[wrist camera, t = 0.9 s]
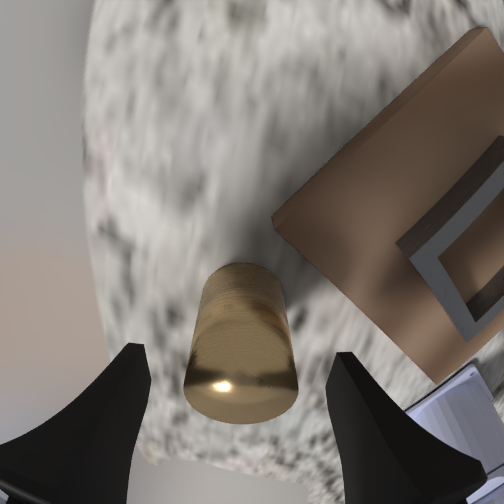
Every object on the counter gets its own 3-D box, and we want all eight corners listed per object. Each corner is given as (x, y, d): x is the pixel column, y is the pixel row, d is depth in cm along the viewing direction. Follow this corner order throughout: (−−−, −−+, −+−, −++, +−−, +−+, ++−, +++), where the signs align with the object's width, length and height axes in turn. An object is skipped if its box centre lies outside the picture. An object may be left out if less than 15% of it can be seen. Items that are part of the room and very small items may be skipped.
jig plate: (557, 240, 14) (570, 249, 13) (428, 370, 19) (436, 384, 17) (469, 30, 9) (486, 27, 8) (271, 216, 14) (274, 229, 12)
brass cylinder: (299, 296, 16) (321, 390, 10) (244, 341, 17) (244, 434, 11) (240, 246, 14) (236, 334, 9) (186, 299, 16) (161, 392, 10)
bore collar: (537, 240, 13) (553, 251, 11) (454, 326, 15) (466, 343, 14) (499, 135, 10) (519, 140, 9) (394, 243, 13) (409, 258, 11)
